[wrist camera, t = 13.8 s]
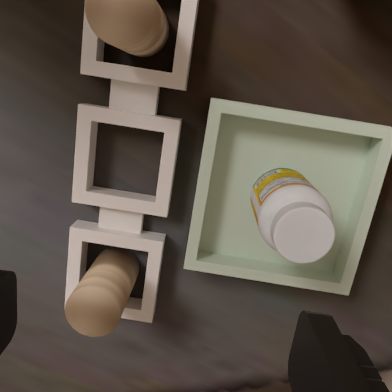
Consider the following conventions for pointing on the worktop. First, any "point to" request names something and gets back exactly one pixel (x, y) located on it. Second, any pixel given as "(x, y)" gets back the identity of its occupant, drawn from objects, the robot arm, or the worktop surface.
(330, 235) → the supplement bottle
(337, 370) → the robot arm
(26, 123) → the worktop surface
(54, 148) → the worktop surface
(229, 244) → the sage tray
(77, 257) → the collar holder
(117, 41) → the beech peg inner
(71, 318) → the beech peg outer
